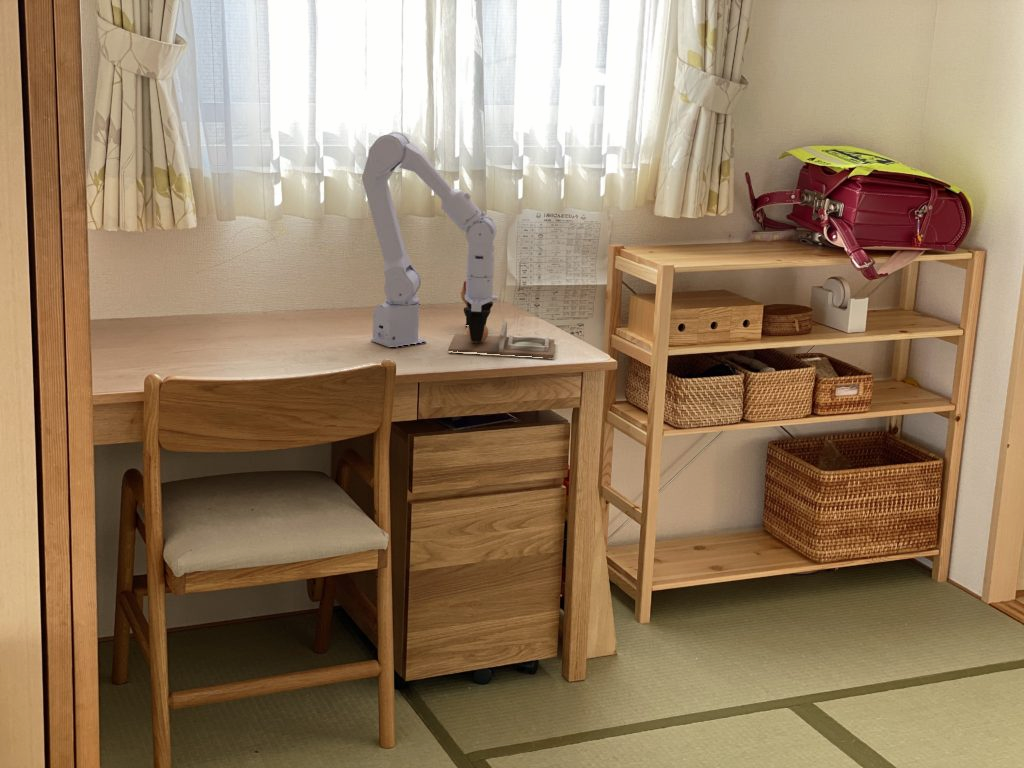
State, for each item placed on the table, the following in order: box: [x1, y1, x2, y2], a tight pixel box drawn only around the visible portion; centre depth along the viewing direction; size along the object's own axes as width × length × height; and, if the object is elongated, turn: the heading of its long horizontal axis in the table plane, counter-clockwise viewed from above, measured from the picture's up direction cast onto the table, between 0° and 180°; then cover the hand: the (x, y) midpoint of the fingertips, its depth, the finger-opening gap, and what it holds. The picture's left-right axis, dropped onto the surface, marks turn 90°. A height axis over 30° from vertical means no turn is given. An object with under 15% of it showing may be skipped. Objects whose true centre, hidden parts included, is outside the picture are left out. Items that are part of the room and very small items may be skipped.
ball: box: [466, 324, 489, 343], centre depth 256 cm, size 5×5×5 cm
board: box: [447, 320, 556, 359], centre depth 256 cm, size 22×14×4 cm, turn 87°
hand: (477, 338), depth 257 cm, fingers open, 5 cm apart
